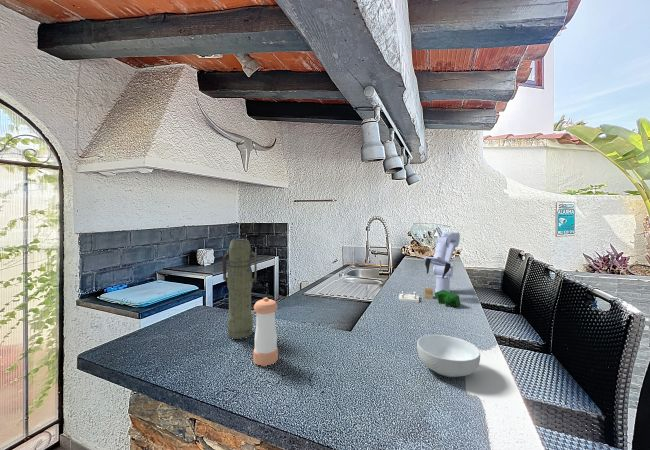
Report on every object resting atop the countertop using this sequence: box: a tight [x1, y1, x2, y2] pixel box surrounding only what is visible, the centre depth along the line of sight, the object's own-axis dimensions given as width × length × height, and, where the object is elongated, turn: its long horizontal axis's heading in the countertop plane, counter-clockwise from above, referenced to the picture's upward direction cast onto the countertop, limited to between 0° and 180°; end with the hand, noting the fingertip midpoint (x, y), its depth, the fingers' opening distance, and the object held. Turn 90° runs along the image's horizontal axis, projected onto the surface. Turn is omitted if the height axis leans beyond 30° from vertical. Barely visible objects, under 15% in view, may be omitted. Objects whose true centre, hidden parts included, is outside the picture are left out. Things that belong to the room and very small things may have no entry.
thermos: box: [222, 238, 258, 340], centre depth 108 cm, size 9×12×35 cm
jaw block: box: [424, 286, 434, 300], centre depth 158 cm, size 4×4×5 cm
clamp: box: [434, 290, 461, 308], centre depth 146 cm, size 12×6×9 cm, turn 11°
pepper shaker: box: [252, 297, 279, 367], centre depth 89 cm, size 7×7×19 cm
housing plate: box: [398, 290, 420, 303], centre depth 155 cm, size 10×10×3 cm
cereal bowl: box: [416, 334, 481, 378], centre depth 85 cm, size 17×17×7 cm
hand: (435, 274), depth 151 cm, fingers open, 7 cm apart
